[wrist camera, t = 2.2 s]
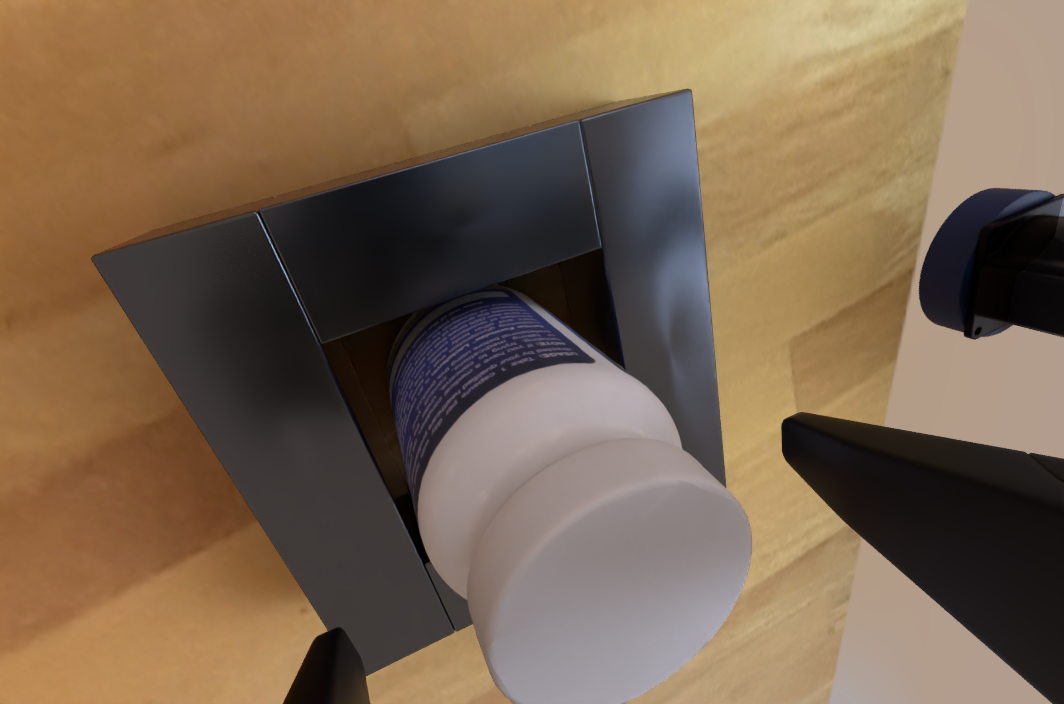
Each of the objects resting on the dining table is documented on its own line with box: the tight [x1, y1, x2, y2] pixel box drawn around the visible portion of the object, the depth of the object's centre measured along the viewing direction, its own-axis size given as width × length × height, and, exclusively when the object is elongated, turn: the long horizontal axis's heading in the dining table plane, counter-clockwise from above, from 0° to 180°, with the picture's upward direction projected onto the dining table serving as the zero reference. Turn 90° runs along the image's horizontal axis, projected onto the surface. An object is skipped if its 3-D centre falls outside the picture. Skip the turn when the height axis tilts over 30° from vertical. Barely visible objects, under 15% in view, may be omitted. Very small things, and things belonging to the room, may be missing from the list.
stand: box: [91, 89, 726, 676], centre depth 15 cm, size 13×13×4 cm
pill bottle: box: [387, 285, 752, 704], centre depth 12 cm, size 6×6×10 cm
